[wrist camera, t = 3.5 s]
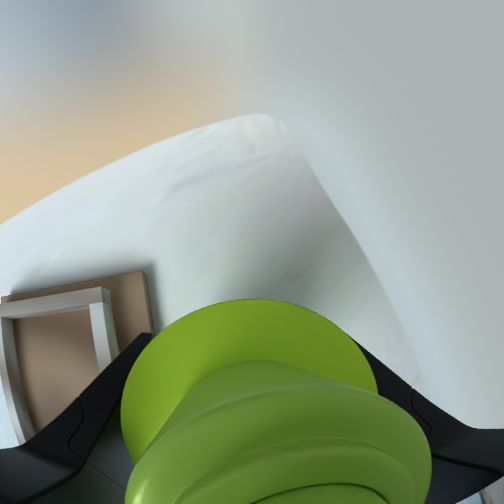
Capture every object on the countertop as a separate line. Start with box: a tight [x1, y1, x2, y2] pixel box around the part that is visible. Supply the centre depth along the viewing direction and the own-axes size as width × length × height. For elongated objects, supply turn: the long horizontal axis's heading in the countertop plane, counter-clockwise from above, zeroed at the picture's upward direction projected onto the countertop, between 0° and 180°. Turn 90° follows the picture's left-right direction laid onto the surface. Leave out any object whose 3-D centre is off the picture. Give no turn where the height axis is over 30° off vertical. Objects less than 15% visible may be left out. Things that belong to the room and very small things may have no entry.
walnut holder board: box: [0, 271, 155, 445], centre depth 13 cm, size 22×14×3 cm, turn 12°
